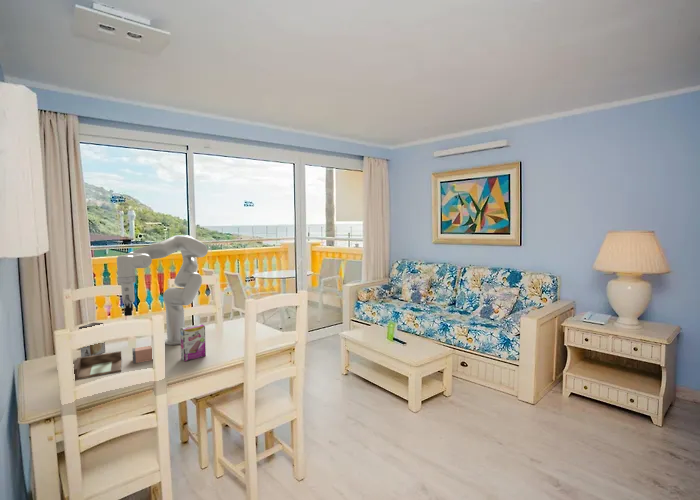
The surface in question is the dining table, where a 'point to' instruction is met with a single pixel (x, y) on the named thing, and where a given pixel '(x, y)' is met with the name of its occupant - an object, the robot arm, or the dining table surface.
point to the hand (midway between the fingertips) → (128, 313)
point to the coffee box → (92, 349)
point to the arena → (97, 365)
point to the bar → (142, 354)
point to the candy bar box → (192, 342)
